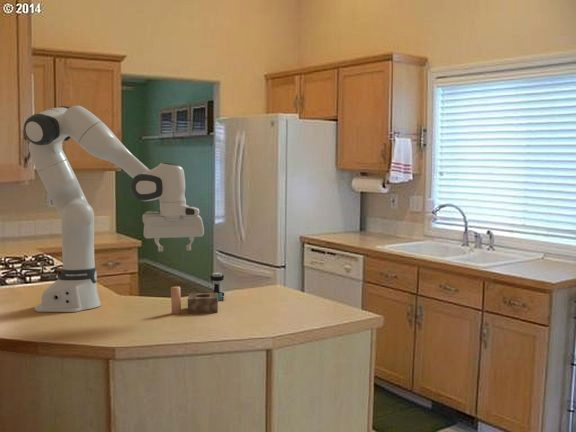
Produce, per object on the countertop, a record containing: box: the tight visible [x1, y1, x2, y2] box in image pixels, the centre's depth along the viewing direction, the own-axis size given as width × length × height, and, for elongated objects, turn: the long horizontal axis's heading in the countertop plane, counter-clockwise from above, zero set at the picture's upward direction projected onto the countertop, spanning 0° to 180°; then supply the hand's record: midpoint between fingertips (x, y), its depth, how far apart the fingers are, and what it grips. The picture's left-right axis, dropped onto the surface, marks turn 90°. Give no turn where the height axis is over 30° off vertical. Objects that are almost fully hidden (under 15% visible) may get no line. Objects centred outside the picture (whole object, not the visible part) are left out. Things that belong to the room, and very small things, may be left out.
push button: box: [209, 272, 227, 301], centre depth 236 cm, size 7×5×10 cm
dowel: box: [170, 286, 182, 315], centre depth 214 cm, size 3×3×9 cm
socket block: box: [187, 292, 219, 314], centre depth 219 cm, size 10×10×5 cm
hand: (174, 250), depth 213 cm, fingers open, 8 cm apart
